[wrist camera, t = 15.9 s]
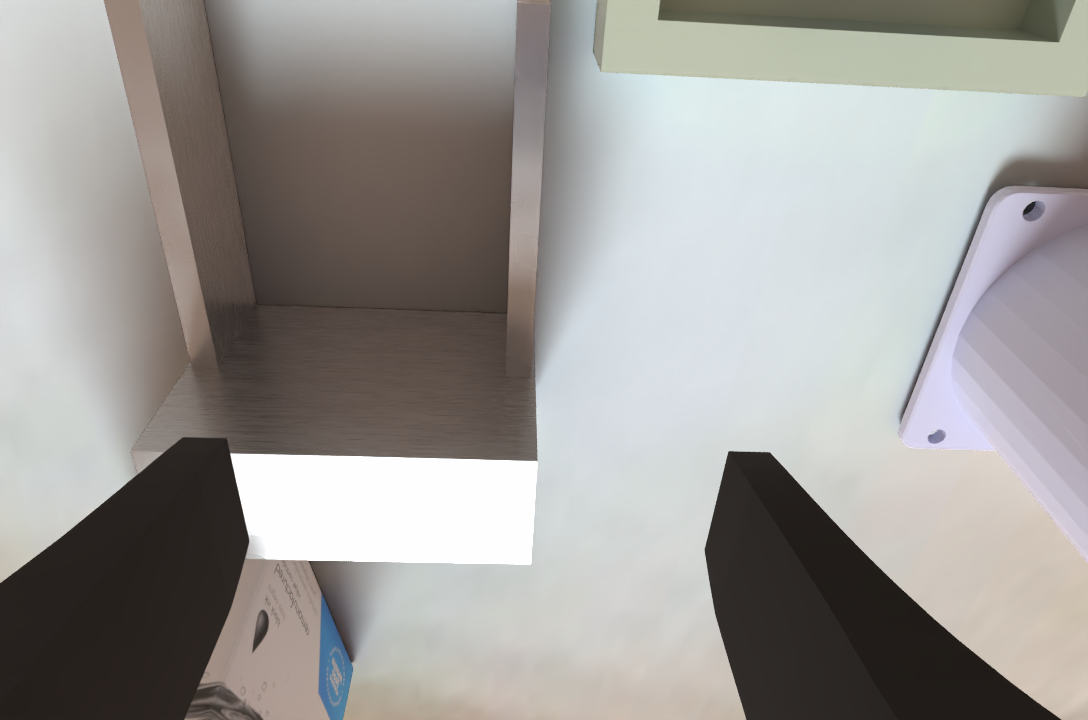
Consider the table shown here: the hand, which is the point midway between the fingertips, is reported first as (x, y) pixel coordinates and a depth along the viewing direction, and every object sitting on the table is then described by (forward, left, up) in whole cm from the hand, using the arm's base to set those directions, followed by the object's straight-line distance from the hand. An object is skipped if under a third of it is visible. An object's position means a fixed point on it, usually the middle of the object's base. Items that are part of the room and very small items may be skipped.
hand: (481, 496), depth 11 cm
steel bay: (+3, 0, -9) cm, 10 cm away
